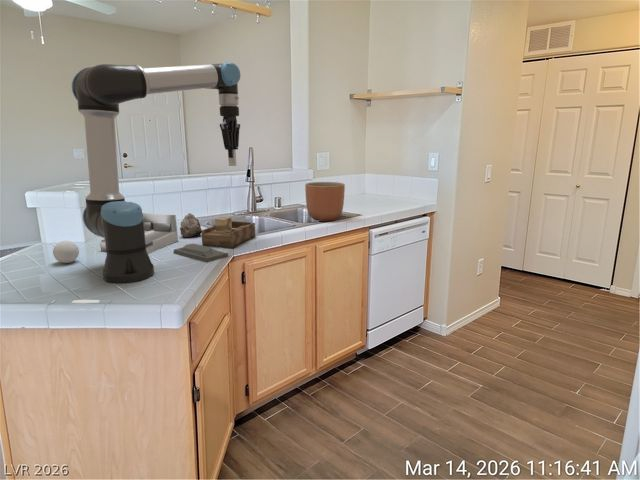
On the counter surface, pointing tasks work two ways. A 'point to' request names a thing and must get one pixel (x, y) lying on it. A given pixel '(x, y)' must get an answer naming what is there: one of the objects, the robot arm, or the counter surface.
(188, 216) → the rock
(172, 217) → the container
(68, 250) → the ball
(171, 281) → the counter surface
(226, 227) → the block
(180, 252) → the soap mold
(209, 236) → the trap box
